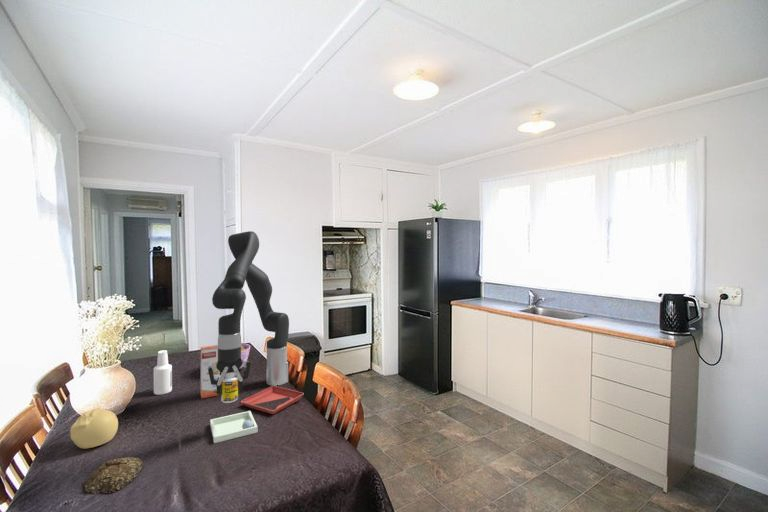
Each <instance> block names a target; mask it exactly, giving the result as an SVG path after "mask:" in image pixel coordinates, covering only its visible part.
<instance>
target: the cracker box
mask: <svg viewBox="0 0 768 512" xmlns="http://www.w3.org/2000/svg"><path fill="white" fill-rule="evenodd" d="M217 362H218V344H216V345H206V346H200V398H201V399H207V398H211V397H216V396H217V397H218V396H219V394H217V385H212V384H211V381H210V377H209V372H208V367H209V366H211V367H212V366H215V365H216V364H217ZM219 373H220V371H219V370H218V369H217V368H216V369H215V372H214V373H213V375H214V380H217V379H218V376H219Z"/></svg>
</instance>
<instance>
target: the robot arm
mask: <svg viewBox="0 0 768 512" xmlns="http://www.w3.org/2000/svg"><path fill="white" fill-rule="evenodd" d="M227 243H228V247H229V250H230V252H231V254H232V256H233V258H234V260H233V262H232V263H231V264H230V265H229V266H228V268H227V270H226V272H225V276H224V279H223V280H222V282H221V283H220V284H219V285H218V287H217V288H216V289H215V290H214V292H213V295H212V297H211V298H212V299H211V302H212V306H214V307H215V308H216V309H217V310H233V312H232V313H230V314H225V315H222V316H220V317H219V319H218V322H217V323H218V325H217V326H218V327H217V329H218V332H217V333H218V336H217V345H218V362H217V364H216V365H215V366H212V367H211V366H209V367H208V372H209V377H210V381H211V384H212V385H217V394H219V395H218V396H219V397H221V382H222V380H223V379H224V376H225V374H226V373H229V372H235V374H236V376H237V377H238V393H241V391H242V390H243V389H244V387H243V381H244V380H248V378H249V374H250V369H251V361H250V360H248V359H247V361H242V360H241V343H242V335H241V318H242V312H243V310H244V306H245V303H246V300H247V294H246V292H245V291H244V286H245V282H246V285H247V287H248V289H249V292H250V295H251V296H252V298H253V301H254V303H255V305H256V308H257V310H258V314H259V318H260V322H261V325H262V327H263V328H264V331H265V330H266V331H267V332H271V333H272V332H273V333H274V337H273V338H269V339H268V340H267V341H266V384H267V385H268V386H270V387H271V386H277V385H278V386H283V385H284V384H286V383H289V362H288V341H289V335H290V334H289V331H290V329H289V328H290V318H289V316H288V314H287V313H285V312H278V311H277V312H276V311H274V310H273V308H272V306H271V301H270V300H271V297H272V294H273V286H272V283H271V281H270V278H269V276H268V274H266V273H265V272H264V270H262V269H261V268H259V267H258V266H256V265H255V264H254V263H253V261H254V259H255V257H256V256H257V254H258V252H259V249H260V239H259V237H258V235H257V233H256V232H255V231H249V230H248V231H244V232H239V233H233V234H231V235H229V237H228V241H227ZM242 364H243V368H244V369H243V374H242V375H241V373H240V371H239V370H240V369H241V368H240V367H241V366H242ZM216 368H217V369H218V370H219V371H220V373H219V376H218V379H217V380H214V375H213V373H214V372H215V369H216ZM239 368H240V369H239ZM278 386H277V387H278Z"/></svg>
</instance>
